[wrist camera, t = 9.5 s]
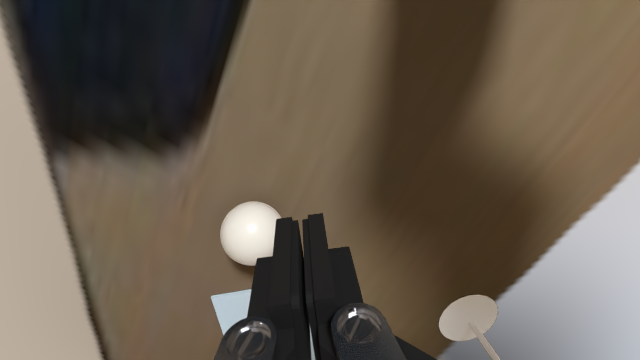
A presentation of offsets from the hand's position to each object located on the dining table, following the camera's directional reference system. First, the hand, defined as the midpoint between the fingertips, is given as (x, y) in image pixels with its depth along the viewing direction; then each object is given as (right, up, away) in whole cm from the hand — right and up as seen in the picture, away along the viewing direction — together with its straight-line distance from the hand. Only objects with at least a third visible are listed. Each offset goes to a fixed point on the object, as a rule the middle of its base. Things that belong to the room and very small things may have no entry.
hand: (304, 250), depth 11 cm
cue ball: (-5, -2, +16) cm, 18 cm away
